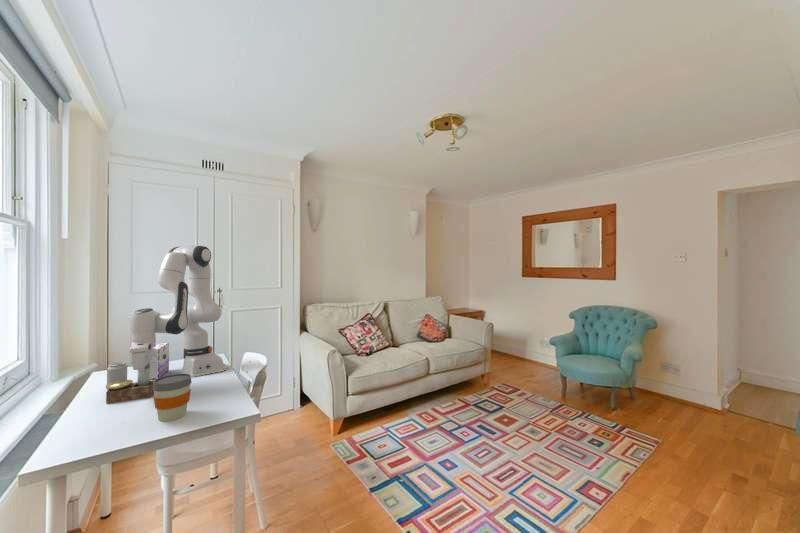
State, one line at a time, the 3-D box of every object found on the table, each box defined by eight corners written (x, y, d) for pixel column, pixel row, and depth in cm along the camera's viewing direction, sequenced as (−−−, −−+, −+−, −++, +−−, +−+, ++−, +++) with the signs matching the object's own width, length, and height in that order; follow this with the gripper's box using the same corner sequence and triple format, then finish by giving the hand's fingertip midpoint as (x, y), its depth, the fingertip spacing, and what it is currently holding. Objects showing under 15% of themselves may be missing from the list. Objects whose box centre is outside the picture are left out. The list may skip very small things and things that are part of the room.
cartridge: (151, 384, 150) (151, 363, 150) (148, 387, 146) (148, 366, 146) (138, 385, 148) (138, 364, 147) (136, 389, 144) (136, 367, 143)
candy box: (157, 372, 179) (157, 343, 179) (169, 371, 180) (169, 342, 180) (145, 380, 165) (145, 348, 166) (158, 379, 167) (159, 348, 167)
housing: (155, 390, 152) (155, 379, 152) (151, 396, 144) (151, 385, 144) (113, 396, 145) (113, 385, 145) (106, 403, 137) (106, 392, 137)
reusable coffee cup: (185, 406, 134) (185, 371, 134) (195, 415, 126) (196, 377, 126) (148, 417, 124) (148, 379, 125) (157, 427, 116) (157, 386, 117)
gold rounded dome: (134, 391, 148) (135, 378, 148) (129, 398, 140) (129, 384, 140) (109, 394, 144) (109, 381, 144) (102, 402, 136) (102, 388, 136)
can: (131, 385, 158) (131, 361, 158) (116, 391, 151) (116, 366, 151) (117, 384, 159) (118, 360, 159) (102, 390, 151) (102, 365, 152)
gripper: (140, 339, 154) (140, 368, 154) (128, 350, 136) (128, 381, 136) (156, 338, 157) (156, 366, 157) (147, 348, 139) (147, 379, 139)
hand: (143, 373), depth 147 cm, fingers closed on cartridge, 4 cm apart
